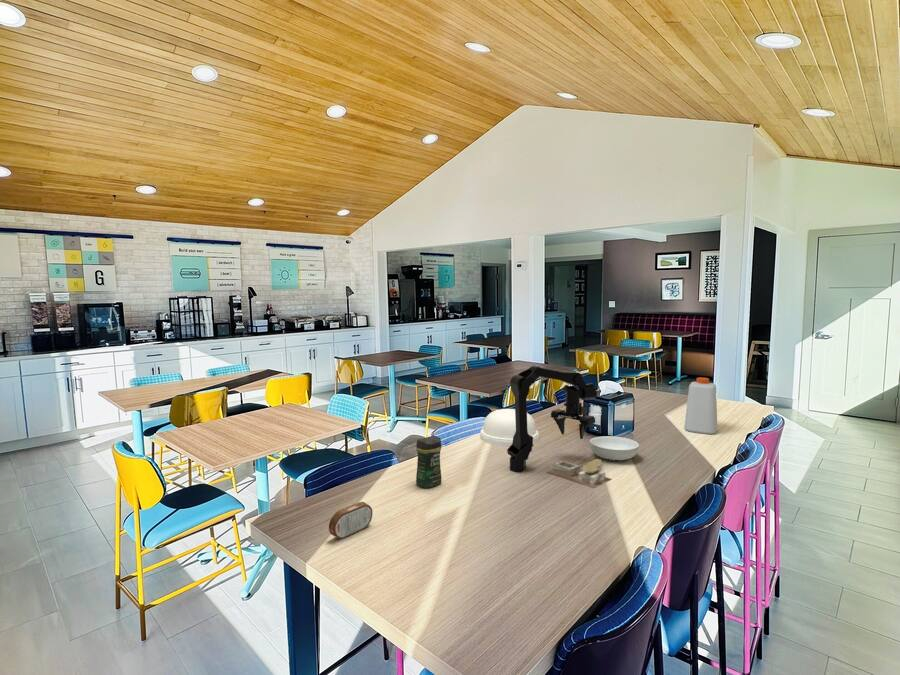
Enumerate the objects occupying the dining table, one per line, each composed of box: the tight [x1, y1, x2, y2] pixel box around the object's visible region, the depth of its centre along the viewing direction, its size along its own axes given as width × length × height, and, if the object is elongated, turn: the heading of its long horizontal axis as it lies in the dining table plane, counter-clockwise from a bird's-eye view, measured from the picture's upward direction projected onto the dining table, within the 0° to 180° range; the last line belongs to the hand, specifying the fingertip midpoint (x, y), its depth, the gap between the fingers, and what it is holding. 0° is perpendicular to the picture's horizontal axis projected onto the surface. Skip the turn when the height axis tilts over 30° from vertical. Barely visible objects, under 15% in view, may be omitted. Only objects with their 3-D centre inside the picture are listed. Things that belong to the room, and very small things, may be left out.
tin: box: [328, 501, 373, 539], centre depth 150 cm, size 15×3×8 cm, turn 138°
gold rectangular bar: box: [582, 458, 602, 475], centre depth 188 cm, size 2×10×7 cm, turn 133°
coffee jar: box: [415, 435, 442, 489], centre depth 187 cm, size 10×8×19 cm
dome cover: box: [479, 408, 540, 448], centre depth 247 cm, size 32×30×14 cm
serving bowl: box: [589, 435, 640, 461], centre depth 217 cm, size 21×21×7 cm
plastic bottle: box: [683, 376, 718, 435], centre depth 258 cm, size 15×15×28 cm
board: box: [545, 459, 613, 489], centre depth 193 cm, size 13×22×4 cm, turn 43°
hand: (572, 436), depth 208 cm, fingers open, 9 cm apart
